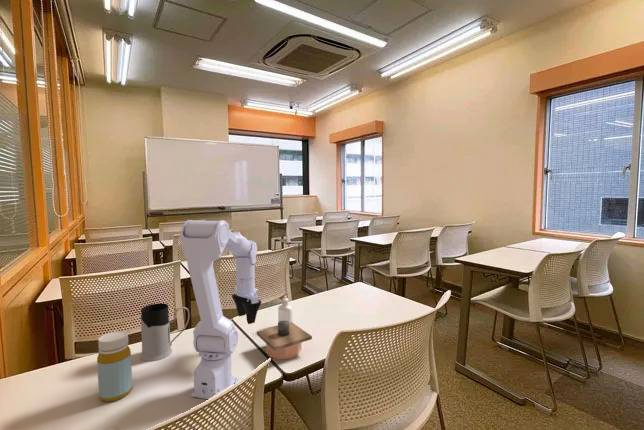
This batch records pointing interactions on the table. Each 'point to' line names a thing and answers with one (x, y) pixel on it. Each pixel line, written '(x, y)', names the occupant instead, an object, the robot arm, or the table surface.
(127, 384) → the bottle
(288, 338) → the lid
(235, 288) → the robot arm
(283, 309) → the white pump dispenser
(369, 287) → the table surface
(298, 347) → the bowl
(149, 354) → the glass holder
